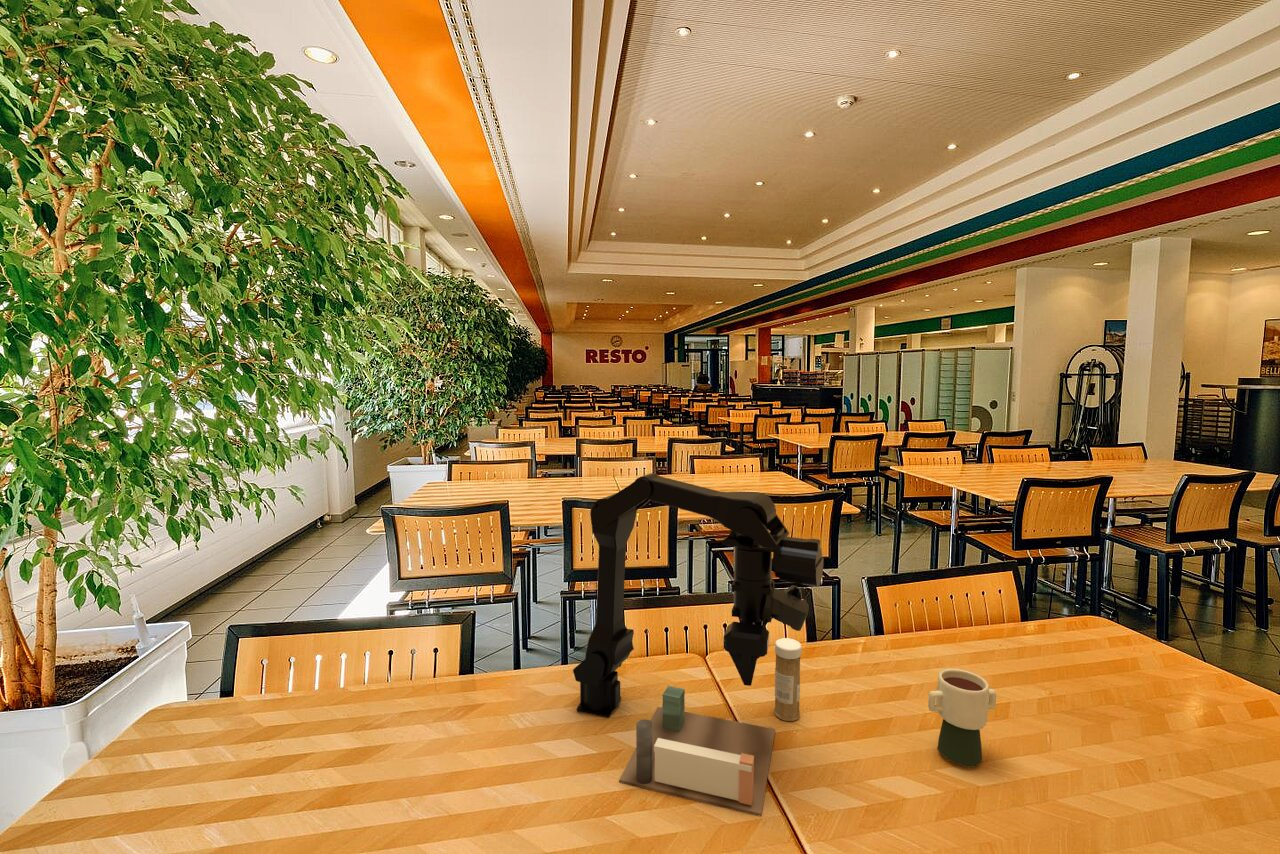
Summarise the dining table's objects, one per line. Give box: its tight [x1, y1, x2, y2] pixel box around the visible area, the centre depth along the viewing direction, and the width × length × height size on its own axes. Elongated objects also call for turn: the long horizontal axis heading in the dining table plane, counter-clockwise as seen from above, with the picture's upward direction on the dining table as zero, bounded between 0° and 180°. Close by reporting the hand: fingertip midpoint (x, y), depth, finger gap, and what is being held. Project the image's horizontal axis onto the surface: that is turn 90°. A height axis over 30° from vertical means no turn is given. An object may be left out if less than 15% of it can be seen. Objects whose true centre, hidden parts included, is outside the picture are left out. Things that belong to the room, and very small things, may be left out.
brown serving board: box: [618, 685, 776, 817], centre depth 92 cm, size 21×20×9 cm
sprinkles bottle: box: [773, 637, 803, 722], centre depth 103 cm, size 5×5×14 cm
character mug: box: [927, 668, 997, 768], centre depth 91 cm, size 11×7×13 cm, turn 94°
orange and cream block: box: [654, 738, 754, 805], centre depth 84 cm, size 14×2×6 cm, turn 71°
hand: (750, 670), depth 92 cm, fingers open, 9 cm apart
